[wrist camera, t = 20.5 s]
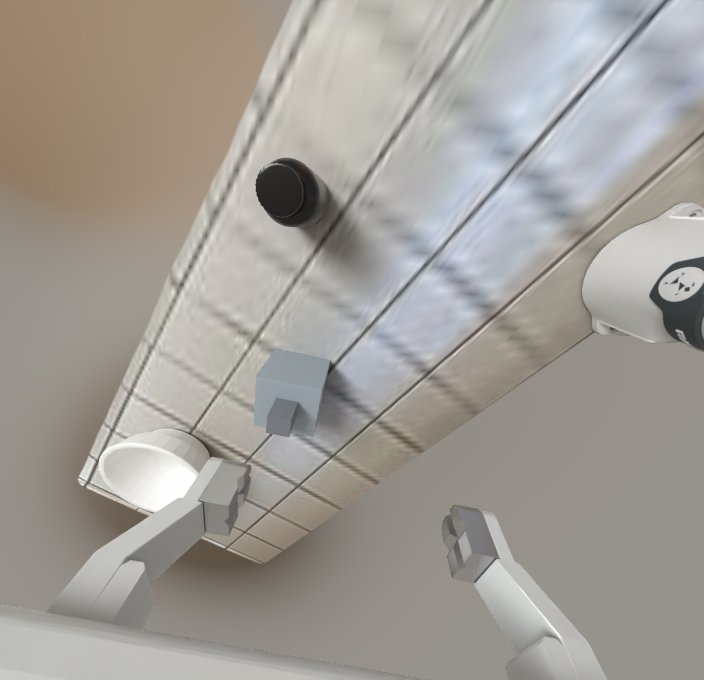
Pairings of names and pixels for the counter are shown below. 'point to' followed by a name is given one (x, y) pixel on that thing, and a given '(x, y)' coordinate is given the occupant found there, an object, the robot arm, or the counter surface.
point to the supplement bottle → (291, 193)
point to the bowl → (153, 467)
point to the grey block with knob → (290, 393)
